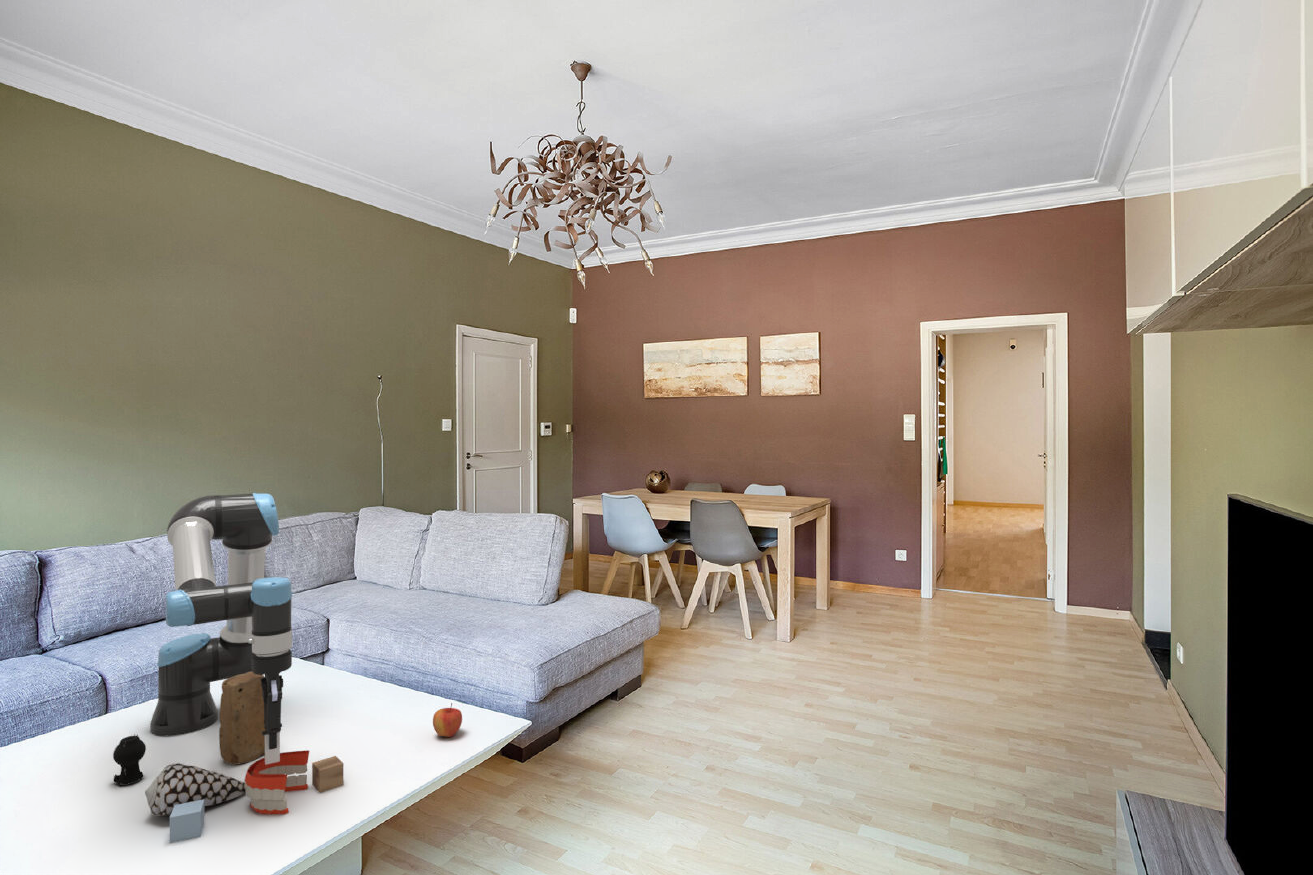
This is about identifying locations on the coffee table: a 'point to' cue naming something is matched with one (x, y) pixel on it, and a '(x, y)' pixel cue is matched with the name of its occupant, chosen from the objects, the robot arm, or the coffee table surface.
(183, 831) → the slate block
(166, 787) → the seashell
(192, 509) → the robot arm
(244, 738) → the brown rock
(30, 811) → the coffee table surface
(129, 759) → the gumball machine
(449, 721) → the apple
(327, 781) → the walnut block
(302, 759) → the toy
